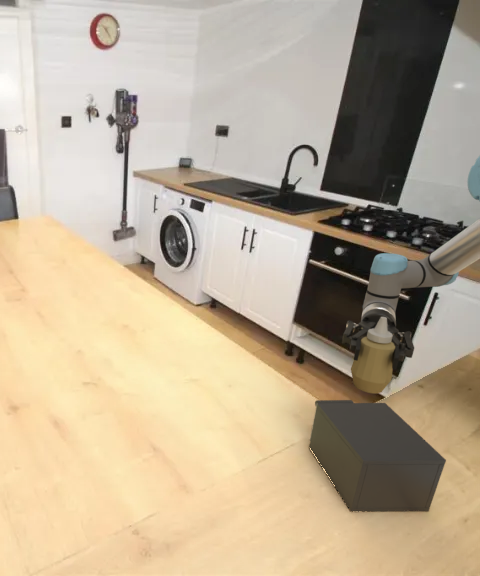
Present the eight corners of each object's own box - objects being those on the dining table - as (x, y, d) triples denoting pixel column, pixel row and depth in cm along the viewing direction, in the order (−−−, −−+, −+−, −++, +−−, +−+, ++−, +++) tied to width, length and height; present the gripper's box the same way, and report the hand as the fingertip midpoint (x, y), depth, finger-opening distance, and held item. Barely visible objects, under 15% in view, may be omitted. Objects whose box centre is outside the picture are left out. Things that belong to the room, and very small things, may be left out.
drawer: (299, 426, 86) (306, 390, 82) (354, 425, 85) (363, 389, 82) (347, 496, 69) (357, 454, 66) (416, 495, 69) (429, 454, 66)
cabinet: (308, 448, 81) (317, 403, 77) (373, 447, 80) (385, 402, 77) (350, 511, 67) (363, 460, 63) (428, 511, 67) (446, 460, 63)
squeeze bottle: (358, 374, 102) (373, 308, 96) (394, 389, 96) (413, 319, 90) (341, 384, 98) (355, 316, 92) (377, 401, 92) (395, 328, 86)
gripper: (420, 343, 104) (427, 387, 86) (333, 326, 114) (323, 362, 96) (428, 316, 101) (436, 355, 83) (338, 301, 111) (328, 333, 94)
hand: (375, 359), depth 90 cm, fingers closed on squeeze bottle, 6 cm apart
